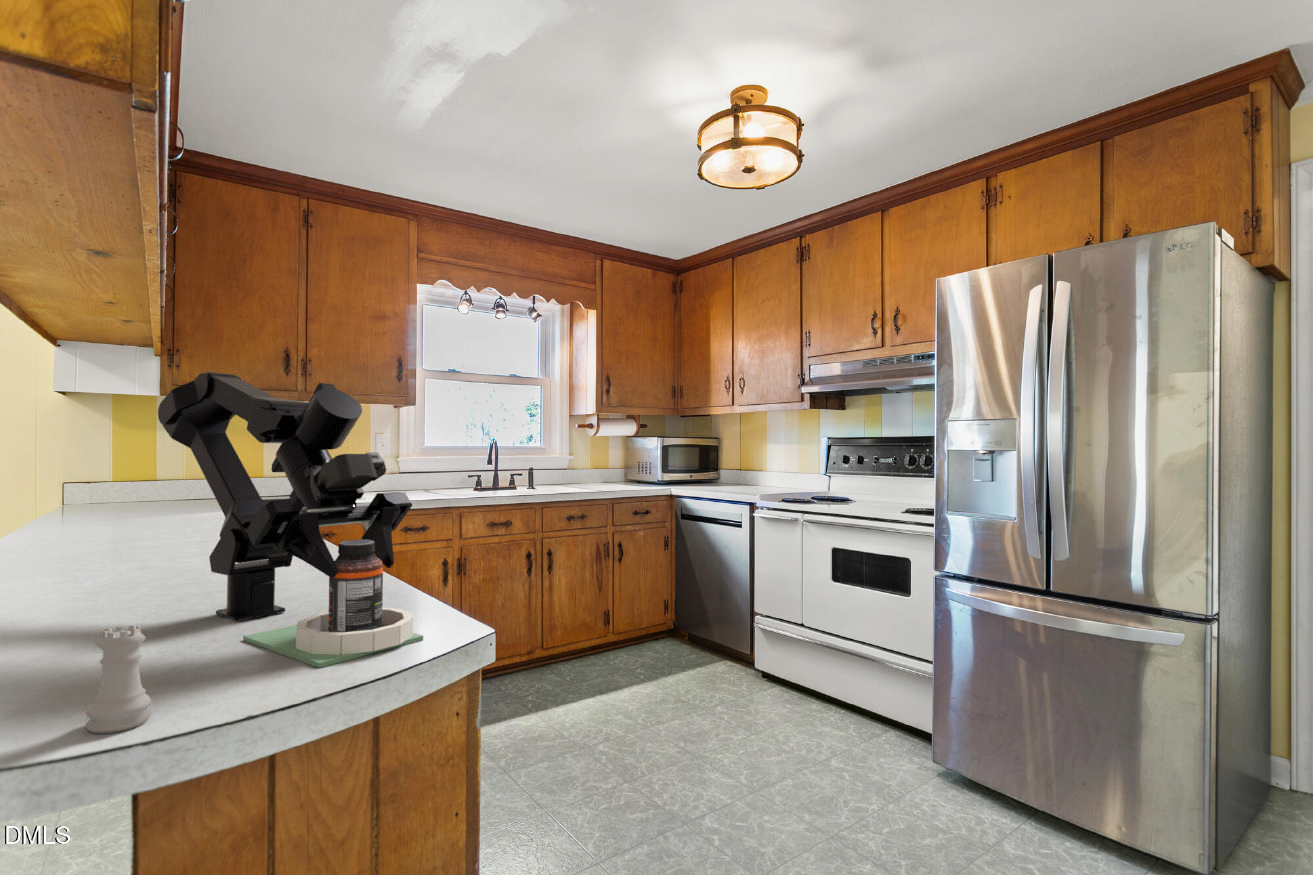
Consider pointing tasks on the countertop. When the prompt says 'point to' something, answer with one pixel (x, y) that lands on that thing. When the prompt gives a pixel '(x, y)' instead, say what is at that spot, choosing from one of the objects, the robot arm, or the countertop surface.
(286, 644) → the putting mat
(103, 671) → the rook chess piece
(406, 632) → the round cream tray
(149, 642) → the countertop surface
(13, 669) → the countertop surface
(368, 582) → the supplement bottle
